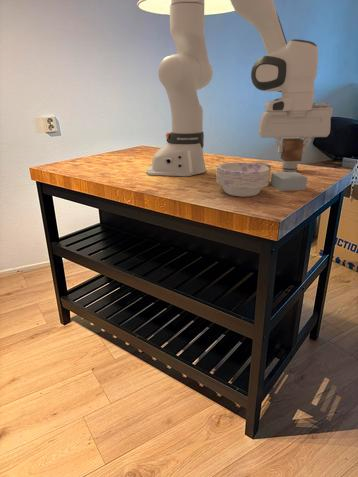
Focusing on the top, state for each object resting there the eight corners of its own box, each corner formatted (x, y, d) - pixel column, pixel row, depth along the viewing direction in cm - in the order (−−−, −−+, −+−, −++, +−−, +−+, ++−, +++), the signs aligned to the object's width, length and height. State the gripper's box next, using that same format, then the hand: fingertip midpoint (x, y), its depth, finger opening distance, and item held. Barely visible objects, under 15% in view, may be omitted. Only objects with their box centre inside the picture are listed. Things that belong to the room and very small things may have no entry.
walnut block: (284, 161, 106) (286, 140, 103) (280, 158, 110) (282, 138, 108) (301, 161, 105) (303, 140, 103) (296, 158, 110) (299, 138, 107)
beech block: (254, 184, 114) (256, 166, 112) (248, 180, 119) (249, 163, 116) (269, 183, 115) (270, 165, 113) (262, 179, 120) (264, 162, 117)
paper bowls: (266, 186, 112) (268, 161, 108) (269, 201, 98) (271, 172, 95) (217, 185, 114) (218, 160, 111) (214, 199, 100) (214, 171, 97)
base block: (280, 191, 107) (281, 178, 105) (270, 185, 114) (271, 172, 113) (305, 190, 108) (307, 177, 107) (294, 183, 115) (295, 171, 114)
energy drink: (297, 172, 129) (301, 138, 124) (282, 171, 130) (285, 138, 125) (296, 169, 134) (299, 136, 129) (281, 168, 135) (284, 136, 130)
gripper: (329, 102, 104) (323, 150, 109) (259, 103, 105) (256, 151, 110) (337, 103, 98) (330, 154, 103) (263, 104, 99) (259, 154, 104)
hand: (291, 152), depth 107 cm, fingers closed on walnut block, 5 cm apart
